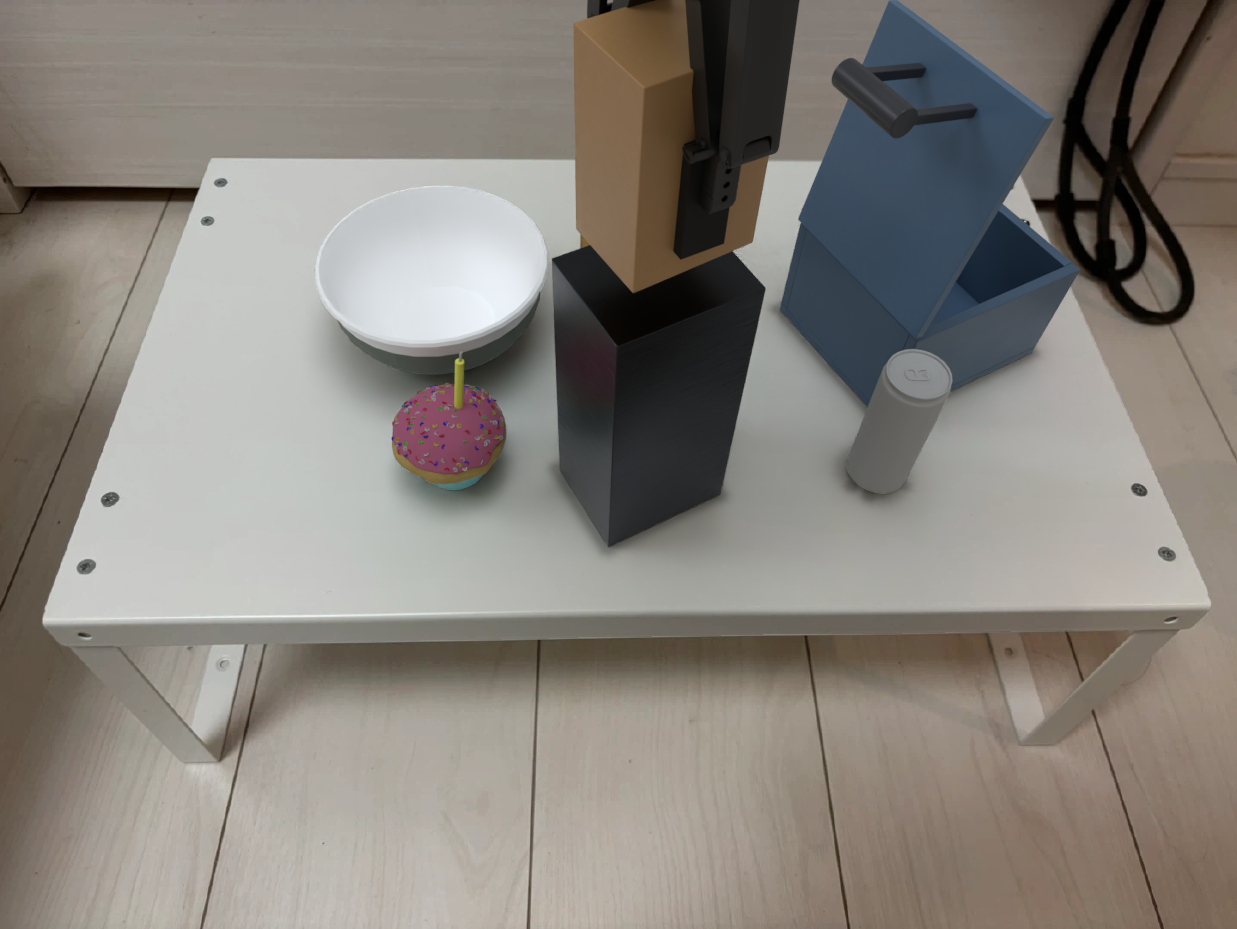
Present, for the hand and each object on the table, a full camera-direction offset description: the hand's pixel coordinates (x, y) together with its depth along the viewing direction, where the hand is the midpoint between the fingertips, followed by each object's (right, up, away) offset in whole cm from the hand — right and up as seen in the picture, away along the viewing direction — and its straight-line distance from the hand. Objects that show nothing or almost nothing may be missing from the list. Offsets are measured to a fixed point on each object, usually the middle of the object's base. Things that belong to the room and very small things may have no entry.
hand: (665, 208), depth 50 cm
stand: (-1, -15, +22) cm, 27 cm away
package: (0, -1, +2) cm, 2 cm away
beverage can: (+18, -15, +23) cm, 33 cm away
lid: (+18, +7, +15) cm, 24 cm away
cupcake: (-15, -14, +23) cm, 31 cm away
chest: (+23, -2, +32) cm, 40 cm away
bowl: (-18, -2, +31) cm, 36 cm away
